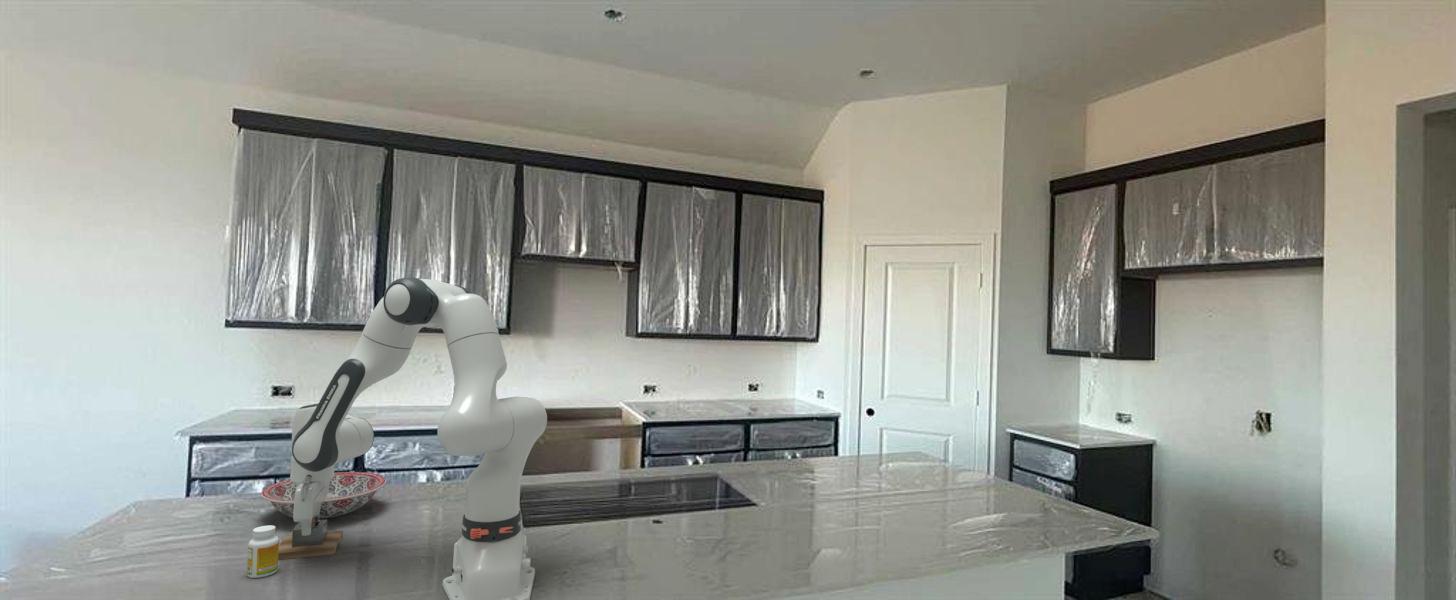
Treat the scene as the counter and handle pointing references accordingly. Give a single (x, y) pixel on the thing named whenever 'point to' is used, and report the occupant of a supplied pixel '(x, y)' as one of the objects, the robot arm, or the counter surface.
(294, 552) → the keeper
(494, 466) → the robot arm
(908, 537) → the counter surface
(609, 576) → the counter surface
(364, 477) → the ceramic bowl
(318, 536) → the grey square block
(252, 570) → the supplement bottle
